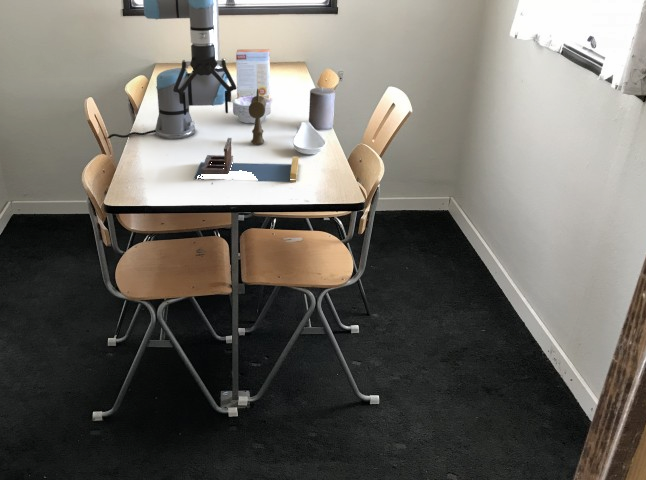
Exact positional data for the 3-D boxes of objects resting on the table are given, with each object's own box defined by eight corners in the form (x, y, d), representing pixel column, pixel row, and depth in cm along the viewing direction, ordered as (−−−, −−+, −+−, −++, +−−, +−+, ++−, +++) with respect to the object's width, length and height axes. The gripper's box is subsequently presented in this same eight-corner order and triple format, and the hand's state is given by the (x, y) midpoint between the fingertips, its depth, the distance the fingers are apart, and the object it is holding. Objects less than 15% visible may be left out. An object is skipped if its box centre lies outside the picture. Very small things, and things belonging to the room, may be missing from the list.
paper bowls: (248, 112, 296) (248, 93, 292) (278, 119, 288) (278, 99, 284) (225, 121, 287) (224, 101, 282) (254, 128, 278) (254, 108, 274)
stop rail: (290, 181, 231) (290, 173, 230) (292, 164, 245) (292, 156, 243) (296, 182, 231) (296, 173, 230) (298, 164, 244) (298, 156, 243)
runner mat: (193, 180, 235) (193, 179, 235) (200, 163, 248) (200, 162, 248) (296, 183, 231) (296, 182, 231) (298, 165, 245) (298, 164, 244)
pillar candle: (303, 126, 280) (304, 87, 271) (319, 120, 285) (321, 82, 277) (322, 131, 274) (324, 92, 265) (338, 126, 280) (340, 87, 271)
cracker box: (269, 98, 312) (270, 48, 301) (268, 102, 307) (269, 51, 296) (238, 98, 314) (237, 48, 302) (236, 102, 309) (235, 51, 297)
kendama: (248, 147, 260) (248, 92, 249) (250, 139, 268) (250, 84, 257) (265, 148, 260) (265, 92, 248) (266, 139, 268) (266, 85, 256)
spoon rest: (328, 157, 250) (329, 137, 246) (295, 159, 250) (295, 138, 246) (316, 135, 270) (317, 117, 266) (286, 137, 269) (286, 118, 265)
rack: (201, 178, 235) (199, 149, 230) (207, 163, 247) (206, 135, 241) (228, 179, 234) (227, 150, 229) (233, 164, 246) (232, 136, 240)
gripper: (162, 47, 217) (167, 117, 228) (243, 44, 218) (244, 114, 230) (162, 42, 223) (167, 111, 234) (241, 40, 224) (242, 108, 236)
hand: (205, 112), depth 232 cm, fingers open, 13 cm apart
